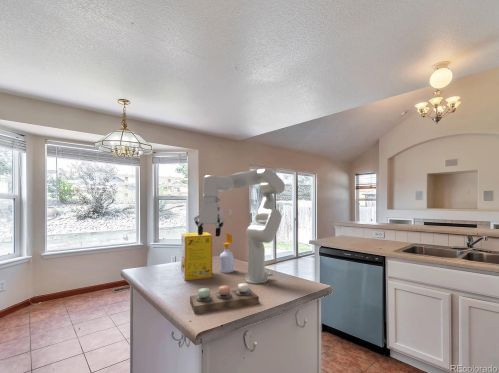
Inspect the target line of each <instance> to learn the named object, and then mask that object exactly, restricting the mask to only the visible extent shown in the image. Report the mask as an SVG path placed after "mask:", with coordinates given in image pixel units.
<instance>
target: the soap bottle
mask: <svg viewBox="0 0 499 373" xmlns="http://www.w3.org/2000/svg"><path fill="white" fill-rule="evenodd" d="M222 234H223V235H225V236H226V242H223V243H222V245H224V246H225V247H224V248H223V249H224V250H223V251H222V253H220V255H219V272H220V273H223V274H229V273H233V272H234V268H235V264H234V263H235V260H234V256H235V255H234V254H233V252H232V251H230V247H229V245H231V244H232V243H233V242H232V240H233V238H232V237H233V236H232V234H230V233H228V232H223V233H222Z"/></svg>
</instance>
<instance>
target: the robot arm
mask: <svg viewBox="0 0 499 373" xmlns="http://www.w3.org/2000/svg"><path fill="white" fill-rule="evenodd" d="M202 181H203V182H202V184H203V185H202V201H201V204H200V207H199V215H196V216H195V217H194V218H193V220H194V224H195V225H196V227H197V233H198V235H203V232H204V231H203V230H204V227H203V225H205V224H211V225H215V227H216V228H215V237H220V236H221V231H222V229H221V228H222V227H223V226H224V225H225V222H226V218H225V217H224V216H222V215H221V214H222V213H221V212H222V211H221V205H220V203H219V202H221V198H220V197H219V192H221V193H222V192H229V191H231V190H233V189H242V188H246V187H250V186H251V187H252V186H255V185H259V191H260V194H261V198H262V199H261V203H260V206H259V207H258V209H257V211H256V214H255V221H256V223H257V224H250V225H249V226H247V228H246V230H245V231H246V232H245V237H246V240H247V276H246V277H245V279H244V280H245V282H247V284H248V283H249V284H254V285H255V284H256V285H257V284H258V285H259V284H265V283H267V282H268V280H269V279H268V277H273V275H274V274H273V272H268V271H267V272H266V269H265V268H266V266H265V265H266V264H265V263H266V261H265V260H266V259H265V257H266V255H265V254H266V253H265V252H266V251H265V245H264V243H265V244H270V243H272V242H273V241H274V240H275V238H276V235H277V232H278V230H279V228H280V225H281V221H282V214H281V212H280V210H279V209H277V208H275V207H276V200H275V197H274V194H275V195H278V194H283V192H284V191H285V190H286V189H285V188H286V186H285V182H284V180H282V179H281V177H280V176H279V175H278V174H276V173H275V171H273V170H271V169H270V168H269V167H268V168H266V167H265V168H258V169H253V170H252V169H251V170H246V171H241V172H237V173H234V174H229V175H223V176H217V175H213V174H212V175H211V174H209V175H207V174H206V175H205V176H204V177H203V180H202Z"/></svg>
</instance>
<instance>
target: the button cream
mask: <svg viewBox="0 0 499 373" xmlns="http://www.w3.org/2000/svg"><path fill="white" fill-rule="evenodd" d="M249 284H250V283H249ZM249 284H248V282H247V283H245V282H243V283H238V284H237V290H238V291H240V292H247V291H249V289H250V286H249Z"/></svg>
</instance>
